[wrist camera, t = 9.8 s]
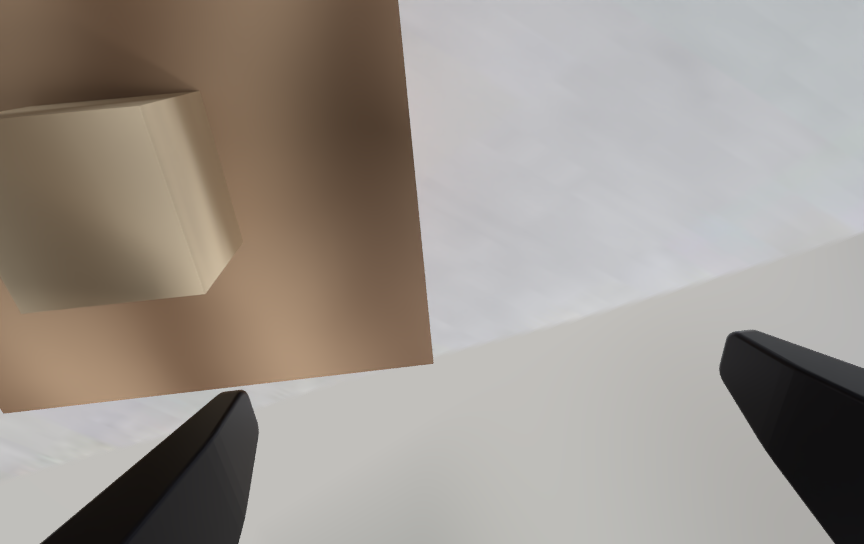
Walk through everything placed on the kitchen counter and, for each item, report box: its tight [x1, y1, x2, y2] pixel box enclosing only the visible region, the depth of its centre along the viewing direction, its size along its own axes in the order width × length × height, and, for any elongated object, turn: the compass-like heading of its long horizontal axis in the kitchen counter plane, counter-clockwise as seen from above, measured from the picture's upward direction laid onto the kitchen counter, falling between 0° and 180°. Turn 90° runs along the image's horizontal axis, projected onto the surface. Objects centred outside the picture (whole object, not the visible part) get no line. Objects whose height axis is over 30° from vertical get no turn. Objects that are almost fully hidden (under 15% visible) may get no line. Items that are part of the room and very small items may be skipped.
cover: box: [0, 0, 433, 413], centre depth 11 cm, size 14×14×4 cm
